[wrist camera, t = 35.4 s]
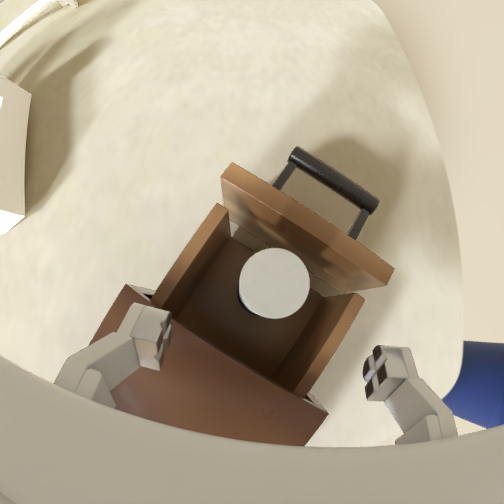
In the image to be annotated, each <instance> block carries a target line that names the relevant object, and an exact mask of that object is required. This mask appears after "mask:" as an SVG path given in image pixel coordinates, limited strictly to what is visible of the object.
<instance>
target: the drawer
mask: <svg viewBox="0 0 504 504" xmlns="http://www.w3.org/2000/svg"><path fill="white" fill-rule="evenodd" d="M287 162H288V164H287V166H286V167H285V169H284V170H283V171H282V173H281V174H280V176H279V177H278V179H277V180H276V181H275V183H274V184H273V186H271V185H270V184H268V183H266V182H265V181H263V180H261V179H260V178H258V177H257V176H255V175H253V174H252V173H250V172H248V171H246V170H245V169H243V168H241V167H240V166H238V165H236V164H235V163H233V162H232V163H231V164H230V165H229V166H228V168H227V169H226V170H225V171H224V173H223V174H222V175H221V177H220V178H221V186H222V194H223V202H224V207H223V206H222V205H220V204H218V203H216V205H215V206H214V207H213V209H212V210H211V212H210V213H209V214H208V216H207V217H206V219H205V220H204V221H203V223H202V224H201V226H200V227H199V228H198V230H197V231H196V233H195V234H194V235H193V237H192V238H191V240H190V241H189V243H188V244H187V246H186V247H185V248H184V250H183V251H182V253H181V254H180V256H179V257H178V259H177V260H176V262H175V263H174V265H173V266H172V267H171V269H170V270H169V272H168V273H167V275H166V276H165V278H164V279H163V281H162V282H161V284H160V285H159V287H158V288H157V290H156V292H155V293H154V295H153V296H152V298H151V299H150V300H151V301H153V302H154V303H155V304H157V305H158V306H159V307H161V308H162V309H164V310H165V311H169V312H171V315H172V316H173V317H175V318H176V319H178V320H179V321H180V322H182V323H183V324H185V325H186V326H188V327H189V328H190V329H192V330H193V331H195V332H196V333H198V334H199V335H201V336H202V337H204V338H205V339H207V340H208V341H210V342H211V343H213V344H214V345H216V346H217V347H219V348H220V349H222V350H223V351H225V352H227V353H228V354H230V355H231V356H233V357H234V358H236V359H238V360H239V361H241V362H242V363H244V364H246V365H247V366H249V367H251V368H252V369H254V370H256V371H257V372H259V373H261V374H262V375H264V376H266V377H267V378H269V379H271V380H273V381H274V382H276V383H278V384H280V385H281V386H283V387H285V388H287V389H288V390H290V391H292V392H294V393H296V394H297V395H299V396H301V397H303V398H305V397H306V395H307V394H308V392H309V391H310V389H311V388H312V386H313V385H314V383H315V382H316V380H317V379H318V377H319V376H320V374H321V373H322V371H323V370H324V368H325V367H326V365H327V364H328V362H329V361H330V359H331V357H332V356H333V354H334V353H335V351H336V349H337V348H338V346H339V344H340V343H341V341H342V339H343V338H344V336H345V334H346V333H347V331H348V329H349V328H350V326H351V324H352V322H353V321H354V319H355V317H356V315H357V314H358V312H359V310H360V308H361V306H362V305H363V303H364V301H365V299H364V298H363V297H361V296H360V295H358V294H357V293H350V294H343V295H336V296H329V297H323V296H321V295H320V294H318V293H317V292H315V291H314V290H312V289H310V288H309V293H308V296H307V298H306V300H305V302H304V304H303V305H302V306H301V307H300V308H299V309H298V310H297V311H296V312H295V313H293V314H291V315H289V316H287V317H283V318H277V319H272V318H266V317H263V316H257V315H254V314H251V313H249V312H248V311H246V310H245V309H244V308H243V307H242V305H241V304H240V302H239V299H238V285H239V280H240V274H241V271H242V268H243V266H244V265H245V263H246V262H247V260H248V259H249V258H250V257H251V256H253V255H254V254H255V252H253V251H252V250H250V249H249V248H247V247H246V246H244V245H243V244H241V243H240V242H238V241H237V240H235V239H233V238H232V237H231V232H230V222H229V220H231V221H232V222H234V223H235V224H237V225H239V226H240V227H242V228H243V229H245V230H246V231H248V232H250V233H251V234H253V235H254V236H256V237H257V238H259V239H260V240H262V241H263V242H265V243H267V244H268V245H270V246H271V247H273V248H281V249H285V250H288V251H290V252H292V253H294V254H295V255H296V256H298V257H299V258H300V259H301V261H302V262H303V263H304V265H305V266H306V268H307V270H308V271H310V272H311V273H313V274H314V275H316V276H317V277H319V278H320V279H322V280H323V281H325V282H326V283H328V284H329V285H331V286H332V287H334V288H335V289H337V290H338V291H340V292H342V293H346V292H352V291H358V290H364V289H370V288H375V287H381V286H386V285H387V283H388V281H389V279H390V277H391V275H392V273H393V271H394V268H393V267H392V266H391V265H389V264H388V263H386V262H385V261H384V260H382V259H381V258H380V257H378V256H377V255H375V254H374V253H373V252H371V251H370V250H368V249H367V248H365V247H364V246H363V245H361V244H360V243H358V242H357V241H355V240H356V238H357V236H358V235H359V233H360V231H361V229H362V227H363V225H364V223H365V221H366V219H367V217H368V215H371V214H372V213H373V212H374V211H375V209H376V208H377V206H378V204H379V199H378V198H376V197H375V196H374V195H372V194H371V193H369V192H368V191H367V190H365V189H364V188H362V187H361V186H359V185H358V184H357V183H355V182H354V181H352V180H351V179H349V178H348V177H346V176H345V175H343V174H342V173H340V172H339V171H337V170H336V169H334V168H332V167H331V166H329V165H328V164H326V163H325V162H323V161H321V160H320V159H318V158H317V157H315V156H313V155H312V154H310V153H309V152H307V151H305V150H304V149H302V148H300V147H299V146H296V147H295V148H294V150H293V151H292V153H291V154H290V156H289V158H288V161H287ZM296 168H298V169H299V170H301V171H303V172H304V173H306V174H307V175H309V176H311V177H312V178H314V179H315V180H317V181H318V182H320V183H322V184H323V185H325V186H326V187H328V188H329V189H331V190H332V191H334V192H335V193H337V194H338V195H340V196H341V197H343V198H344V199H346V200H347V201H349V202H350V203H352V204H353V205H355V206H356V207H357V208H359V209H360V212H359V213H358V215H357V217H356V219H355V221H354V223H353V225H352V226H351V228H350V230H349V232H348V234H345V233H344V232H342V231H341V230H339V229H338V228H336V227H335V226H334V225H332V224H331V223H329V222H328V221H326V220H325V219H323V218H322V217H320V216H318V215H317V214H315V213H314V212H312V211H311V210H309V209H308V208H306V207H305V206H303V205H302V204H300V203H298V202H297V201H295V200H294V199H292V198H291V197H289V196H287V195H286V194H284V193H283V192H281V190H282V188H283V187H284V185H285V184H286V182H287V181H288V179H289V178H290V177H291V175H292V174H293V172H294V171H295V169H296Z"/></svg>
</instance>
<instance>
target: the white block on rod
mask: <svg viewBox="0 0 504 504" xmlns="http://www.w3.org/2000/svg"><path fill="white" fill-rule="evenodd" d="M56 1H58V2H59V3H60V4H61V5H62V6H63V7H65V6H66V5H68V4H69V5H70V7H72V8H73V9H75V8H76V7H78V2H77V0H39V1H37V2H36V3H35V4H33V5H32V6H31V7H30V8H28V9H27V10H26V11H25V12H23V13H22V14H21V15H20V16H18V17H17V18H16V19H15V20H14V21H13V22H11V23H10V24H9V25H8V26H7V27H6V28H5V29H4V30H2V31H1V32H0V47H1V46H2V45H3V44H4V43H5V42H6V41H7V40H8V39H10V38H11V37H12V36H13V35H14V34H15V33H16V32H17V31H19V30H20V29H21V28H22V27H23V26H25V25H26V24H27V23H28V22H30V21H31V20H32V19H33V18H35V17H36V16H37V15H38V14H40V13H41V12H42V11H44V10H45V9H47V8H48V7H49V6H51V5H52V4H54V3H55V2H56Z"/></svg>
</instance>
